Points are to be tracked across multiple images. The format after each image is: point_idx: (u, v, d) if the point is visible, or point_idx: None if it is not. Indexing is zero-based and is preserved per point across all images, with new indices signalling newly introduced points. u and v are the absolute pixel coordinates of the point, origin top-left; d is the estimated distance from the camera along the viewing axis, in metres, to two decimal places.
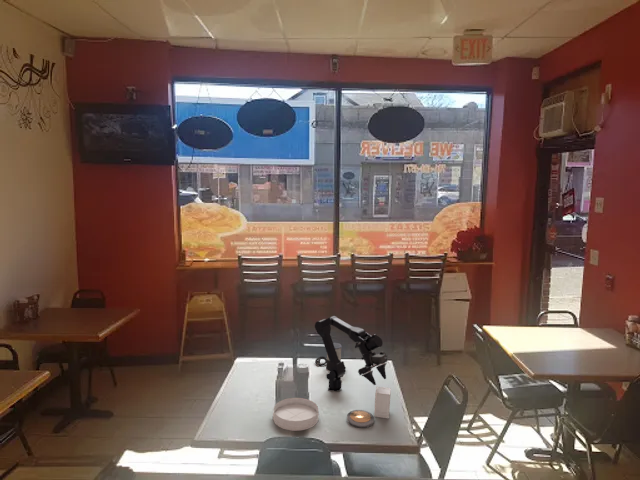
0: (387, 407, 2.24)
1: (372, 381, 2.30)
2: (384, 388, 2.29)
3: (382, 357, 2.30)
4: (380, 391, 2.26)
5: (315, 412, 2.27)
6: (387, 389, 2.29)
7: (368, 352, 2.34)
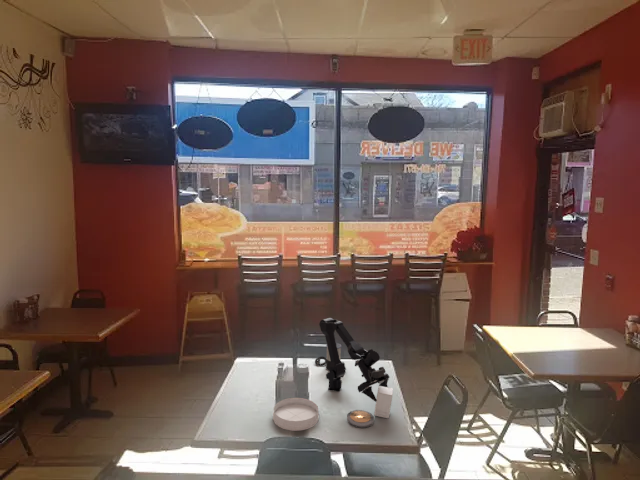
0: (388, 407, 2.24)
1: (372, 397, 2.25)
2: (386, 388, 2.29)
3: (380, 371, 2.27)
4: (383, 391, 2.25)
5: (315, 412, 2.27)
6: (389, 389, 2.28)
7: (367, 368, 2.32)
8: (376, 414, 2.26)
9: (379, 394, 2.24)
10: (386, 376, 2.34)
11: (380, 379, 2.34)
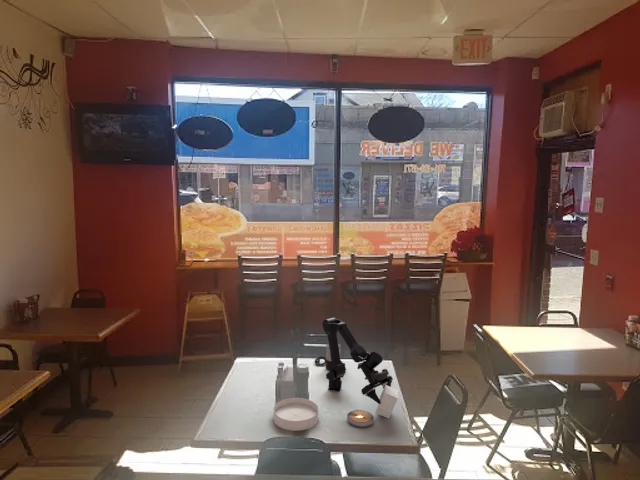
0: (391, 408, 2.23)
1: (376, 400, 2.24)
2: (393, 389, 2.27)
3: (383, 373, 2.26)
4: (389, 392, 2.23)
5: (315, 412, 2.27)
6: (395, 390, 2.26)
7: (370, 371, 2.31)
8: (377, 412, 2.25)
9: (385, 394, 2.22)
10: (389, 378, 2.33)
11: (383, 381, 2.33)
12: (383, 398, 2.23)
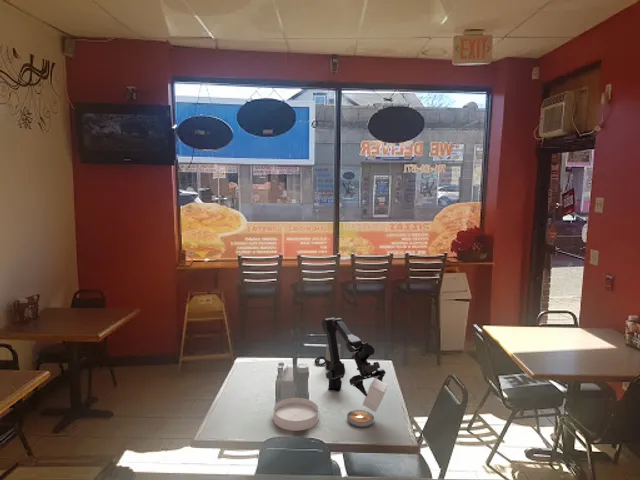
0: (377, 402, 2.19)
1: (363, 392, 2.20)
2: (381, 383, 2.22)
3: (373, 366, 2.21)
4: (376, 385, 2.19)
5: (315, 412, 2.27)
6: (383, 384, 2.21)
7: (361, 362, 2.27)
8: (364, 404, 2.22)
9: (371, 387, 2.18)
10: (382, 372, 2.28)
11: (375, 374, 2.28)
12: (369, 390, 2.19)
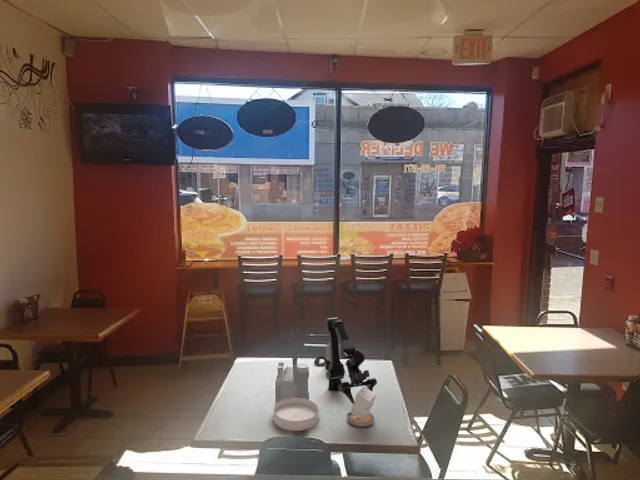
0: (363, 411, 2.16)
1: (350, 399, 2.19)
2: (369, 392, 2.19)
3: (361, 374, 2.19)
4: (363, 394, 2.16)
5: (315, 412, 2.27)
6: (371, 394, 2.18)
7: (352, 369, 2.26)
8: (352, 412, 2.21)
9: (357, 395, 2.16)
10: (373, 381, 2.25)
11: (366, 383, 2.26)
12: (356, 399, 2.17)
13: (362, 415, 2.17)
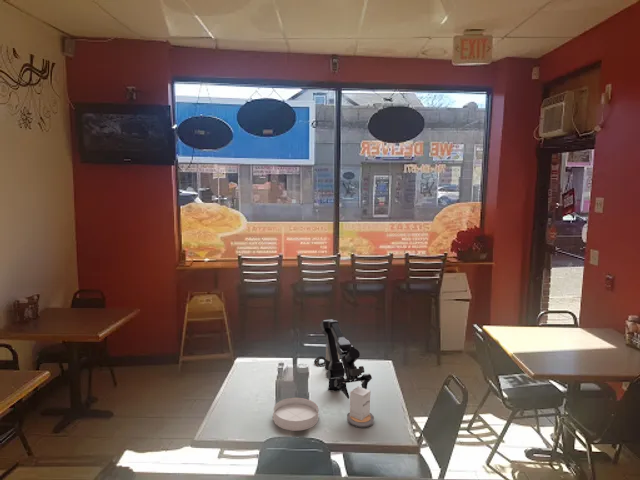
0: (360, 408, 2.18)
1: (346, 394, 2.25)
2: (363, 389, 2.23)
3: (356, 370, 2.25)
4: (356, 391, 2.21)
5: (315, 412, 2.27)
6: (365, 390, 2.22)
7: (348, 365, 2.31)
8: (350, 414, 2.22)
9: (351, 393, 2.20)
10: (367, 376, 2.30)
11: (361, 378, 2.31)
12: (351, 397, 2.21)
13: (360, 414, 2.18)
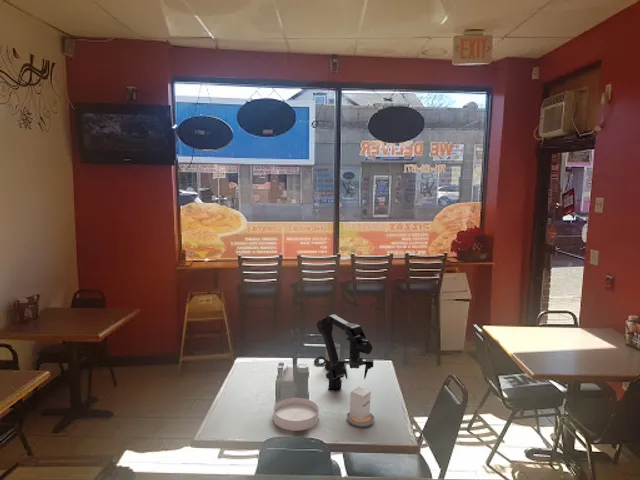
0: (360, 409, 2.18)
1: None
2: (364, 389, 2.23)
3: (353, 364, 2.30)
4: (357, 391, 2.21)
5: (315, 412, 2.27)
6: (365, 390, 2.22)
7: (351, 351, 2.36)
8: (350, 414, 2.22)
9: (351, 393, 2.20)
10: (368, 365, 2.34)
11: (364, 363, 2.37)
12: (351, 398, 2.21)
13: (360, 414, 2.18)
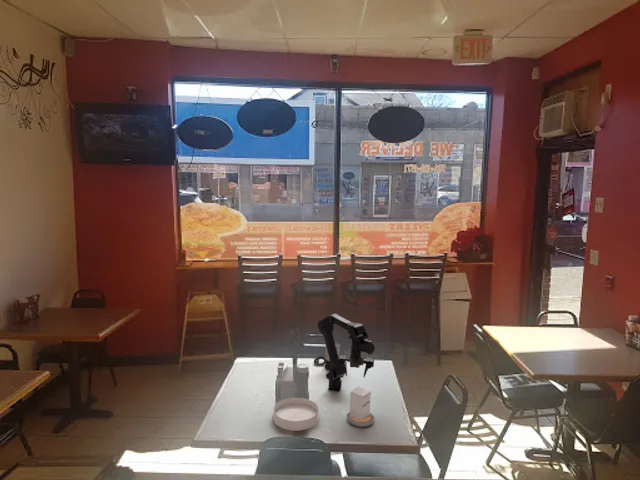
0: (360, 409, 2.18)
1: None
2: (364, 389, 2.23)
3: (353, 363, 2.31)
4: (357, 391, 2.21)
5: (315, 412, 2.27)
6: (365, 390, 2.22)
7: (352, 349, 2.36)
8: (350, 414, 2.22)
9: (351, 393, 2.20)
10: (369, 365, 2.35)
11: (365, 362, 2.38)
12: (351, 398, 2.21)
13: (360, 414, 2.18)
